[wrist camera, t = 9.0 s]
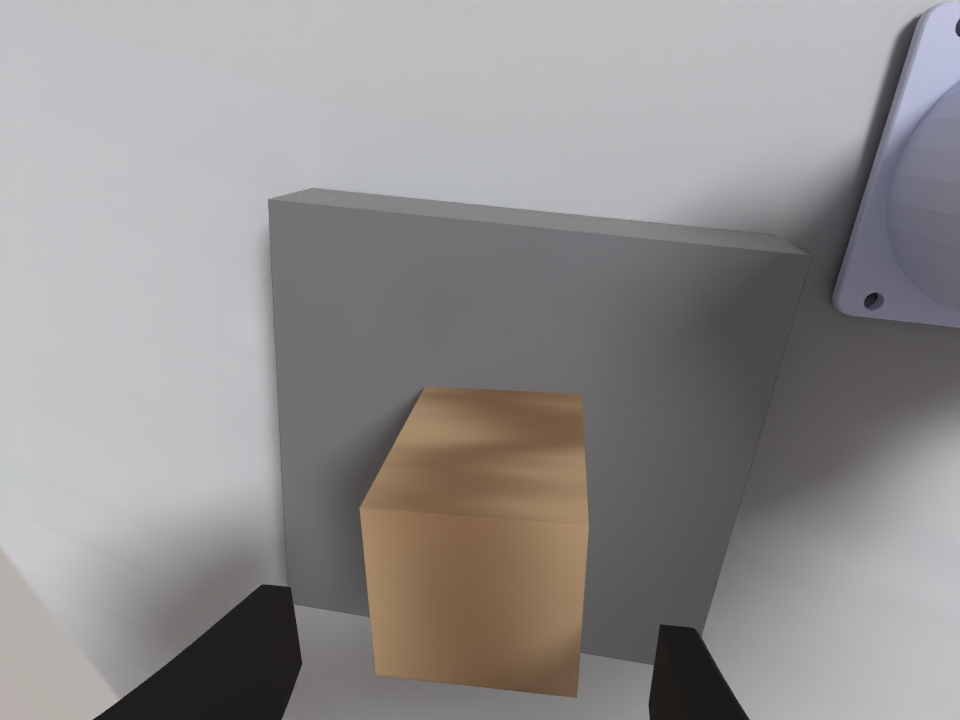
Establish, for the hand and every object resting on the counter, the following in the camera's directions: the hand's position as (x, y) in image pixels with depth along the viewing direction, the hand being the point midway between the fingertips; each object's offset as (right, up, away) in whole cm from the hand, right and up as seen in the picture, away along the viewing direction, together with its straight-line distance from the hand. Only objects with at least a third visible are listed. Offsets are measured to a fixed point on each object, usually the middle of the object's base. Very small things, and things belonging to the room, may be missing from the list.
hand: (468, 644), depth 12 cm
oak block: (+1, +3, +6) cm, 7 cm away
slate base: (+1, +4, +9) cm, 10 cm away
